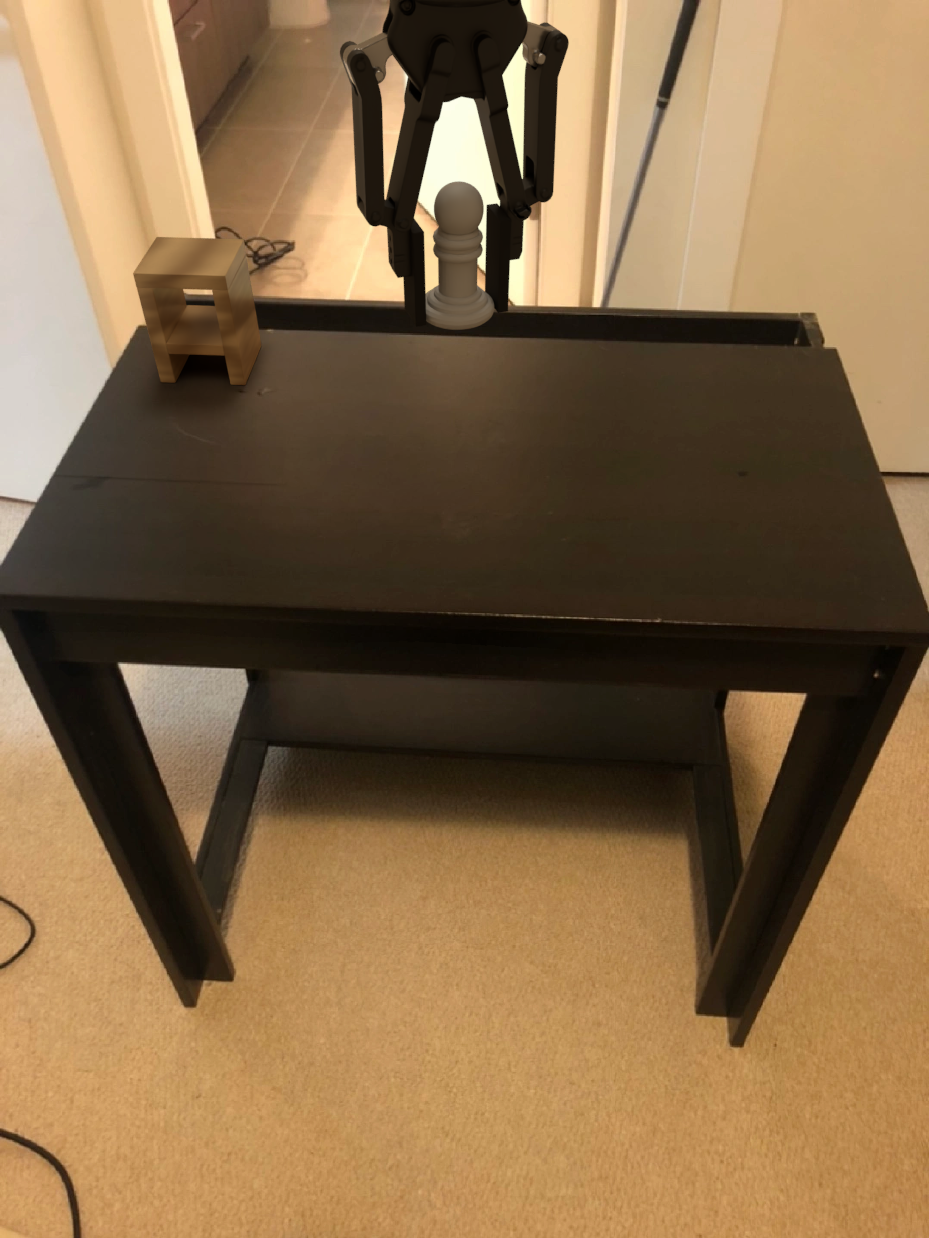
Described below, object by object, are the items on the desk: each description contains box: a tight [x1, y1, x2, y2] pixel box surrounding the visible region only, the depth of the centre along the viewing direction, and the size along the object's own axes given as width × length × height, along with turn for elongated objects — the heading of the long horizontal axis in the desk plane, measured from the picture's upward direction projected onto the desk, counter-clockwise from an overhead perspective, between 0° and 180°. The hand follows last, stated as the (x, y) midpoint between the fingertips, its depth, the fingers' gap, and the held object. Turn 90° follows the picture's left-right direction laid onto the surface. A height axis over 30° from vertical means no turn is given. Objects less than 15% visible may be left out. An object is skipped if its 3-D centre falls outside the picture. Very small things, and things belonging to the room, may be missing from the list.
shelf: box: [132, 236, 262, 386], centre depth 101 cm, size 9×8×12 cm
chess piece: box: [426, 180, 495, 331], centre depth 66 cm, size 5×5×9 cm
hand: (456, 309), depth 69 cm, fingers closed on chess piece, 5 cm apart
